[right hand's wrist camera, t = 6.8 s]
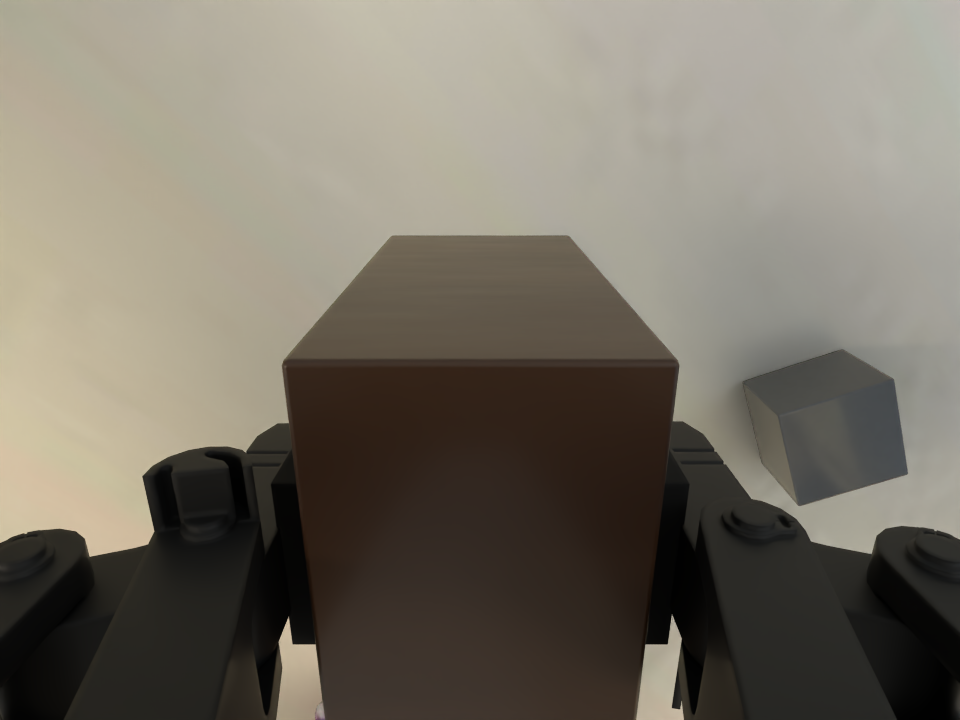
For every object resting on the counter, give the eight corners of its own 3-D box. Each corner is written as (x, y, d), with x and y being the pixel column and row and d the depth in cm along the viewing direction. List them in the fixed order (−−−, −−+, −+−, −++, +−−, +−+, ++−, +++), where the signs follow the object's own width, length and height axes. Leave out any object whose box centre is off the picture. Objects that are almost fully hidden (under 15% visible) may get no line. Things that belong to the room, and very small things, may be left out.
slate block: (761, 464, 32) (798, 507, 28) (741, 381, 30) (778, 415, 27) (857, 434, 31) (909, 474, 28) (842, 348, 30) (894, 378, 26)
